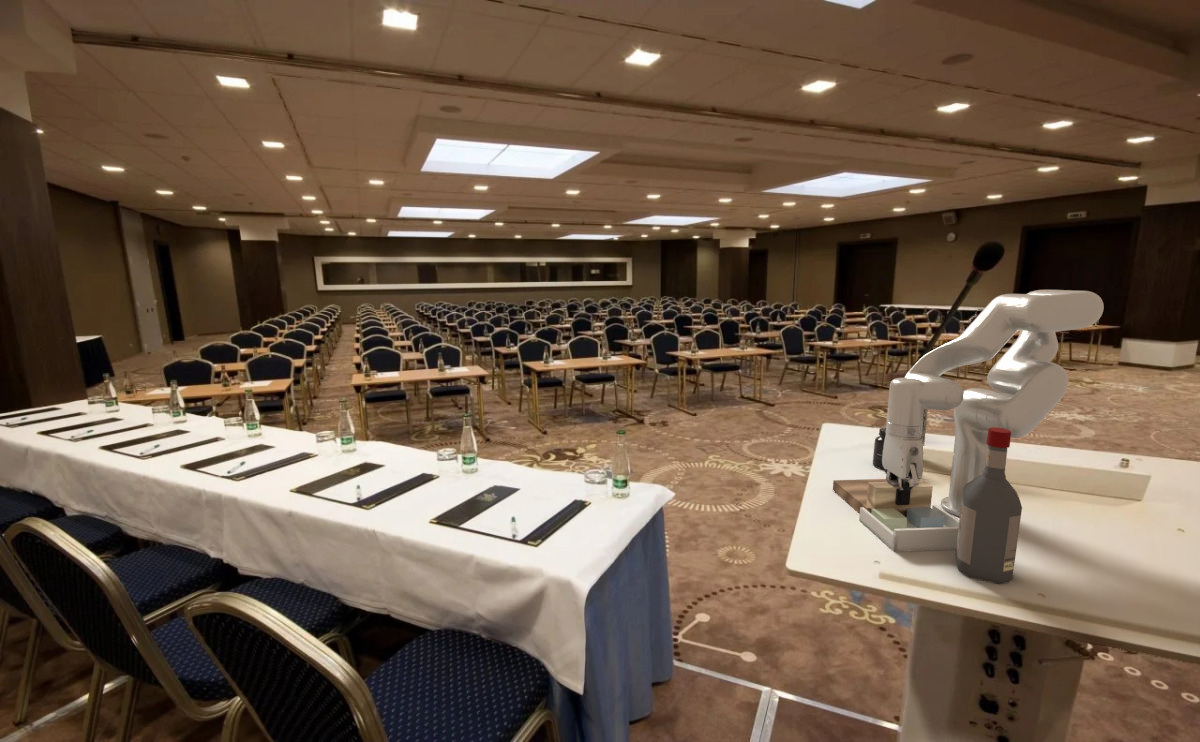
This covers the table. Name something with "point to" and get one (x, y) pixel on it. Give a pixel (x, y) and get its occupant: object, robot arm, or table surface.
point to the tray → (915, 533)
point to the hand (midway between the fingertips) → (897, 500)
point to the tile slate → (924, 517)
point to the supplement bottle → (879, 448)
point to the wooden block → (886, 495)
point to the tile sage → (890, 518)
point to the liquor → (989, 518)
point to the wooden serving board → (856, 493)
